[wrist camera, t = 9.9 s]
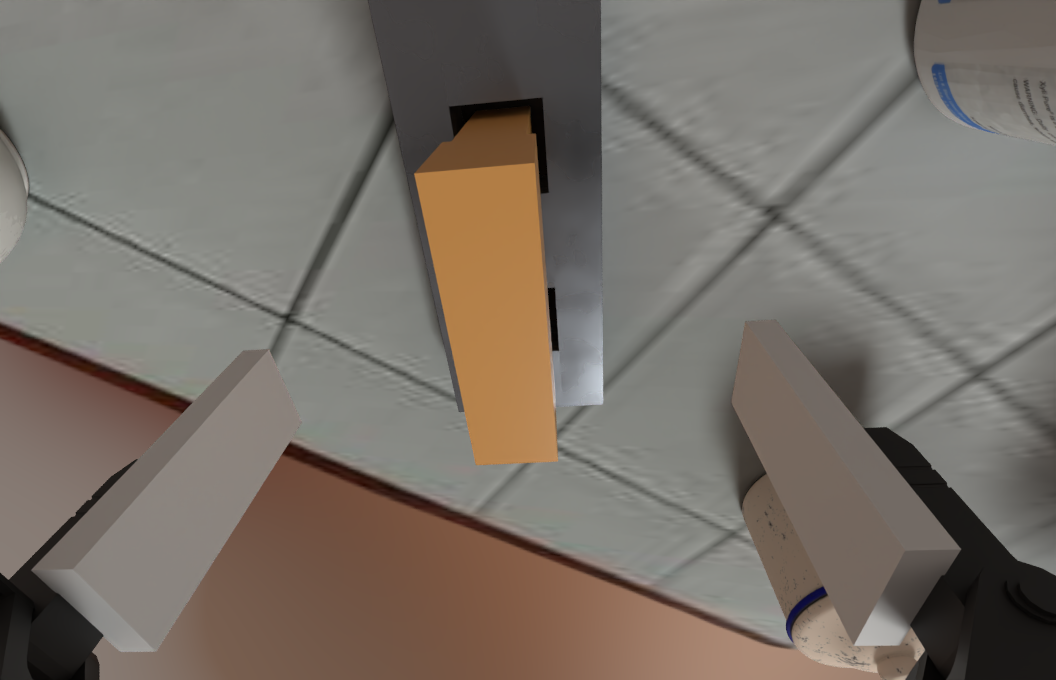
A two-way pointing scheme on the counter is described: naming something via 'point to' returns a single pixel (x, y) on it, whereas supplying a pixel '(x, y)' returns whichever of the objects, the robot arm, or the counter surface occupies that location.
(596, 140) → the graphite rail
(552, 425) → the orange clip
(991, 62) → the supplement tub
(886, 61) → the counter surface
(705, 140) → the counter surface
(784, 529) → the teacup with lid
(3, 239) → the lidded jar
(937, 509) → the robot arm
